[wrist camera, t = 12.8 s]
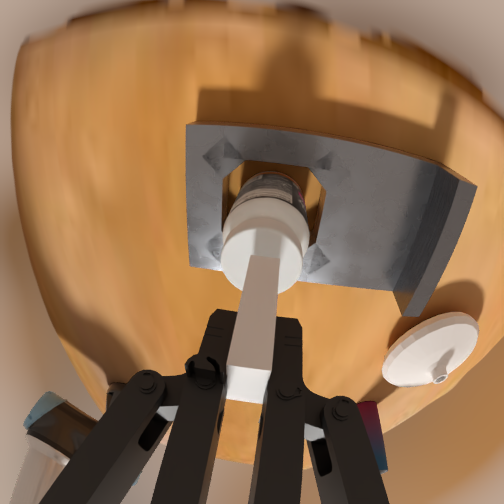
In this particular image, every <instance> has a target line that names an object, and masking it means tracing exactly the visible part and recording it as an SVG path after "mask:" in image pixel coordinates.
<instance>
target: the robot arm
mask: <svg viewBox="0 0 504 504" xmlns="http://www.w3.org/2000/svg"><path fill="white" fill-rule="evenodd" d="M279 267H280V258H272V257H264V256H256V255H250V259H249V264H248V268H247V273H246V277H245V282H244V286H243V291H242V295H241V300H240V305H239V309H238V312H235V311H228V310H222V309H217V310H216V311H215V312H214V313H213V314H212V315H211V316H210V318H209V321H208V324H207V328H206V330H205V334H204V337H203V340H202V343H201V346H200V350H199V353H198V354H196V355H193V356H192V357H190V358H189V359H188V360H187V362H186V363H185V370H186V373H184V374H182V375H176V376H162V375H160V374H159V373H158V372H156V371H153V370H142V371H139V372H137V373H136V374H135V375H134V376H133V377H132V378H131V379H130V381H129V382H128V383H127V385H126V384H122V383H112V384H111V385H110V387H109V389H108V391H107V399H106V412H105V413H104V415H103V416H102V418H101V419H100V420H99V421H97V420H96V419H94V418H92V417H91V416H89V415H87V414H86V413H84V412H83V411H81V410H79V409H78V408H77V407H75V406H74V405H72V404H71V403H69V402H68V401H67V400H66V399H63V398H62V397H60V396H59V395H57V394H55V393H54V392H51V391H49V392H46V393H45V394H44V395H43V396H42V397H41V398H40V399H39V400H38V402H37V403H36V404H35V406H34V407H33V408H32V410H31V411H30V414H29V415H28V416H27V418H26V419H25V421H24V427H25V428H26V429H27V430H28V432H27V434H26V439H27V442H28V444H29V449H28V451H27V454H26V456H25V459H24V462H23V464H22V467H21V470H20V473H19V475H18V478H17V481H16V484H15V488H14V490H13V494H12V497H11V501H10V504H120V503H121V501H122V500H123V498H124V497H125V495H126V494H127V492H128V491H129V489H130V488H131V486H133V485H135V484H136V483H137V482H138V479H139V476H140V474H141V473H142V470H143V468H144V466H145V465H146V463H147V462H148V460H149V458H150V457H151V456H152V454H153V452H154V451H155V449H156V448H157V446H158V445H159V443H160V441H161V440H162V438H163V437H164V435H165V434H166V432H167V430H168V429H169V427H170V426H171V424H172V422H173V421H174V422H173V425H172V429H171V432H170V436H169V439H168V443H167V446H166V450H165V453H164V457H163V460H162V464H161V467H160V471H159V475H158V478H157V482H156V486H155V489H154V493H153V497H152V501H151V504H206V500H207V496H208V491H209V486H210V481H211V476H212V471H213V466H214V461H215V456H216V451H217V446H218V441H219V436H220V431H221V426H222V421H223V416H224V406H225V401H226V399H232V400H238V401H245V402H253V403H261V404H263V405H262V413H261V416H260V419H259V431H258V439H257V446H256V454H255V461H254V468H253V475H252V482H251V488H250V495H249V501H248V504H300V497H301V484H302V470H303V452H304V439H306V440H307V445H308V449H309V453H310V457H311V461H312V466H313V470H314V474H315V478H316V483H317V487H318V491H319V496H320V500H321V504H389V501H388V497H387V494H386V490H385V487H384V484H383V481H382V477H381V474H380V471H379V468H378V464H377V461H376V458H375V455H374V452H373V449H372V446H371V443H370V440H369V437H368V434H367V431H366V428H365V425H364V422H363V420H362V417H361V414H360V411H359V408H358V406H357V405H356V403H355V402H354V401H353V400H352V399H350V398H348V397H345V396H336V397H333V398H331V399H328V398H325V397H322V396H320V395H317V394H315V393H313V392H311V391H310V390H309V389H308V388H307V387H306V386H305V384H304V382H303V377H302V327H301V325H300V323H299V321H298V319H295V318H286V317H277V316H276V311H277V297H278V282H279Z"/></svg>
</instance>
